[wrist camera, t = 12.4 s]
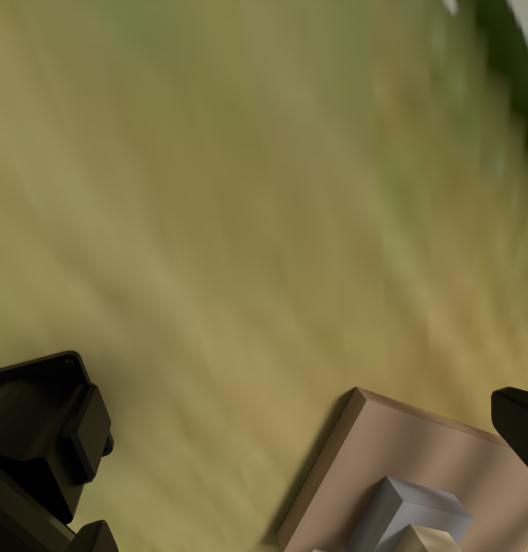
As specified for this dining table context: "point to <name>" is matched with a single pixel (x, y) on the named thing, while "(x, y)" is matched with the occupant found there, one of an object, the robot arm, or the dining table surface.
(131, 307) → the dining table surface
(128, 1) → the dining table surface
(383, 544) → the wooden post with base
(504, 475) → the plank
